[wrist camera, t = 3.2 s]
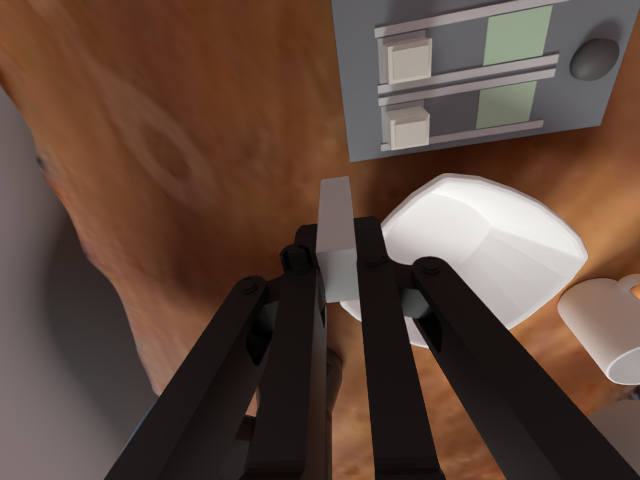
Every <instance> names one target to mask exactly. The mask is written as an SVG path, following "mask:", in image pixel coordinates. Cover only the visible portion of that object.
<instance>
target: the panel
mask: <svg viewBox="0 0 640 480" xmlns="http://www.w3.org/2000/svg"><path fill="white" fill-rule="evenodd" d="M331 5H332V13H333V22H334V30H335V39H336V47H337V56H338V65H339V73H340V82H341V90H342V99H343V107H344V116H345V124H346V133H347V141H348V150H349V158H350V162H356V161H363V160H369V159H376V158H383V157H390V156H396V155H403V154H410V153H417V152H424V151H430V150H437V149H444V148H451V147H457V146H464V145H471V144H478V143H485V142H491V141H498V140H505V139H512V138H518V137H525V136H532V135H539V134H546V133H552V132H559V131H566V130H573V129H579V128H586V127H593V126H600V124H601V121H602V118H603V115H604V112H605V110H606V107H607V104H608V101H609V98H610V95H611V92H612V89H613V86H614V83H615V80H616V77H617V74H618V71H619V68H620V65H621V62H622V59H623V56H624V53H625V50H626V47H627V44H628V41H629V38H630V35H631V32H632V29H633V26H634V23H635V20H636V17H637V15H638V12H639V9H640V0H331ZM418 37H426V38H431V39H432V57H431V77H430V78H424V79H419V80H413V81H407V82H401V83H396V84H390V85H389V84H388V83H387V82H386V81H385V79H384V75H383V53H382V44H387V43H392V42H397V41H402V40H408V39H413V38H418ZM416 106H421V107H423V108H424V109H425V110H426V111H427V112H428V113H429V114H430V119H429V145H424V146H417V147H410V148H404V149H397V150H391V148H390V146H389V144H388V142H387V139H386V120H385V112H386V111H392V110H398V109H404V108H410V107H416Z"/></svg>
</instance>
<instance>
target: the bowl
mask: <svg viewBox="0 0 640 480" xmlns="http://www.w3.org/2000/svg"><path fill="white" fill-rule="evenodd" d="M381 229H382V233H383V237H384V241H385V245H386V250H387V254H388V256H389V257H390V258H391V259H392V260H394V261H395V262H398V263H401V264H407V265H412V264H413V262H414V261H415V260H416V259H419V258H421V257H426V256H433V257H438V258H441V259H443V260H445V261H446V262H447V263H448V264H449V265H450V266H451V267H452V268H453V269H454V270H455V271H456V273H457V274H458V275H459V276H460V277H461V278H462V279H463V280H464V281H465V283H466V284H467V285H468V286H469V287H470V288H471V289H472V290H473V292H474V293H475V294H476V295H477V296H478V297H479V298H480V299H481V300H482V302H483V303H484V304H485V305H486V306H487V307H488V308H489V309H490V310H491V312H492V313H493V314H494V315H495V316H496V317H497V318H498V319H499V320H500V322H501V323H502V324H503V325H504V326H505V327H506V328H507V329H508V330H509V329H511V328H513V327H514V326H516V325H517V324H519V323H520V322H522V321H523V320H525V319H526V318H528V317H529V316H531V315H532V314H533V313H534V312H536V311H537V310H538V309H539V308H541V307H542V306H543V305H544V304H545V303H547V302H548V301H549V300H550V299H552V298H553V297H554V296H555V295H556V294H557V293H558V292H559V291H560V290H561V289H563V288H564V287H565V286H566V285H567V284H568V283H569V282H570V281H571V280H572V279H573V278H574V276H575V275H576V274H577V272H578V271H579V270H580V268H581V267H582V266H583V264H584V263H585V262H586V261H587V259H588V253H587V250H586V248H585V246H584V244H583V242H582V240H581V237H580V235H579V234H578V233H577V232H576V231H575V230H574V229H573V228H572V227H571V226H569V225H568V224H567V223H566V222H565V221H564V220H563V219H562V218H561V217H560V216H559V215H558V214H556V213H555V212H554V211H552V210H551V209H550V208H548V207H547V206H546V205H544V204H543V203H541V202H540V201H539V200H537V199H535V198H533V197H531V196H529V195H527V194H525V193H522V192H520V191H518V190H516V189H514V188H512V187H509V186H506V185H503V184H501V183H498V182H495V181H492V180H489V179H486V178H483V177H480V176H473V175H463V174H454V173H444V174H441V175H439V176H437V177H436V178H434V179H433V180H431V181H429V182H428V183H426V184H425V185H423V186H422V187H420V188H419V189H417V190H416V191H414V192H413V193H411V194H410V195H409V196H408V197H407V198H406V199H405V200H404V201H403V202H402V203H401V204H399V205H398V206H397V207H396V208H395V209H394V210H393V211H392V212H391V213H390V214H389V215H388V216H387V217H386V218H385V219H384V221H383V222H382V223H381ZM340 304H341V305H342V307H343V308H344V309H346V310H347V311H348V312H349V313H350V314H351V315H352V316H354V317H355V318H356V319H357V320H359V321H361V310H360V300H352V301H342V302H340ZM404 318H405V322H406V327H407V331H408V335H409V340H410V344H413V345H417V346H421V347H425V348H429V347H428V346H427V344H426V342H425V341H424V339H423V337H422V335H421V334H420V332H419V330H418V329H417V327H416V325H415V324H414V322H413V320H412V318H411V317H405V316H404Z"/></svg>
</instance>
